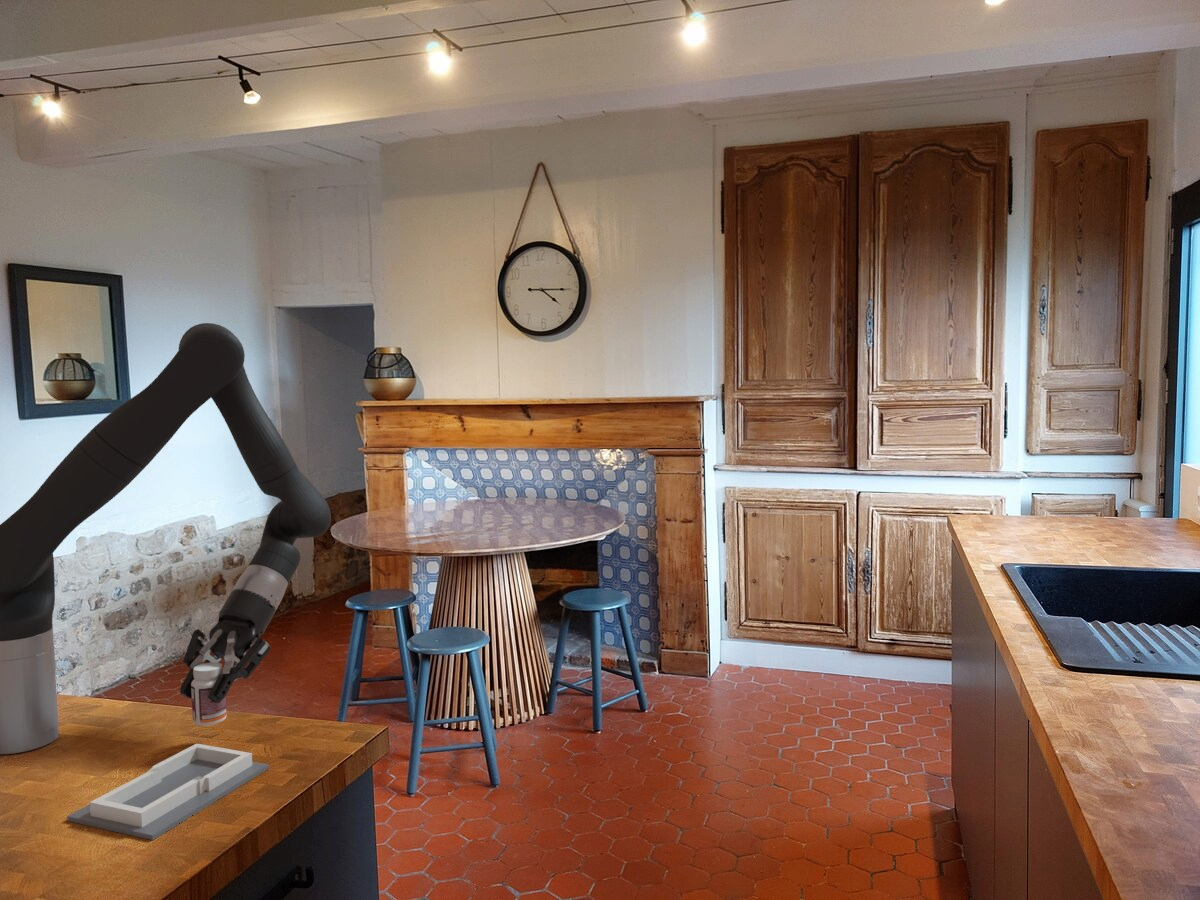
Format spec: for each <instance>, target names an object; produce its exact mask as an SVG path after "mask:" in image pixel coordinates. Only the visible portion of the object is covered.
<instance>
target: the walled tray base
mask: <svg viewBox="0 0 1200 900" xmlns="http://www.w3.org/2000/svg"><path fill="white" fill-rule="evenodd" d="M269 766H270V764H267V763H264V762H257V761H253V753H252V752H247V751H242V750H235V749H232V748H231V749H230V748H224V747H218V746H212V745H208V744H203V743H201V744H200V743H195V744H193V745H191V746H189V747H187V748H185V749H183V750H182V751H179V752H178V753H176V754H174V755H172V756H170V757H167V758H166V759H164V760H162V761H160V762H157V763H155V765H153V766H151V767H150V769H149V770H147V772H145V773H143V774H141V775H139V776H137V777H136V778H134V779H131V780H130V781H128V782H126V783H124V784H122V785H120V786H118V787H116V788H114V789H112V790H110V791H108V792H107V793H105V794H103V795H101V796H99V797H97V798H96V799H93V800H91V801H89V804H87V805H86V806H84V807H82V808H80V809H78V810H76V811H74V812H73V813H70V814H69V815H66V817H67V821H68V822H71V823H76V824H81V825H84V826H88V827H93V828H98V829H100V830H101V829H102V830H106V831H111V832H115V833H120V834H122V835H123V834H124V835H127V836H133V837H138V838H141V839H146V840H149V841H154V840H156V839H157V838H159V837H160V836H162V835H164V834H165V833H167V832H168V830H169V831H171V830H172V829H173V828H176V827H177V826H178V825H180V824H182V823H183V822H185V821H186V820H188V819H189V817H190V818H192V817H193V816H194V815H196V814H198V813H200V812H201V811H202V810H204V809H206V808H207V807H209V806H211V805H213V804H214V803H215V802H217V801H218V799H219V800H220V799H222V798H224V797H225V796H227V795H228V794H230V793H232V792H234V791H235V790H237V789H238V788H241V786H243V785H244V784H246V783H248V782H249V781H251V780H253V779H254V778H257V777H258V776H259V775H261V774H262V773H265V771H268V770H269V769H270V767H269ZM223 796H224V797H223ZM192 815H193V816H192ZM181 822H182V823H181ZM179 823H180V824H179ZM176 825H177V826H176ZM166 831H167V832H166ZM163 833H164V834H163ZM155 838H156V839H155Z"/></svg>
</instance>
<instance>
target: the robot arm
mask: <svg viewBox="0 0 1200 900" xmlns="http://www.w3.org/2000/svg"><path fill="white" fill-rule="evenodd" d="M244 364H245V349H244V347H243V344H242V343H241V341H240V339H239V338H238V337H237V336H236V335H235V334H234V333H233V332H232V331H231V330H230V329H228V328H226V327H224V326H223V325H220V324H217V323H209V322H202V323H198V324H195V325H193V326H191V327H190V328H188V330H186V331H185V332H184V334H183V335H182V337H181V338H180V340H179V344H178V351H177V352H176V354H175V355H174V356H173V358H172V359H171V360H170V361H169V362H168V364H167V365H166V366H165V368H164V369H162V370H161V371H160V372H159V374H158V375H157V377H155V379H154V380H153V381H152V382H151V383H149V385H147V386H146V387H145V388H143V390H142V391H140V392H139V393H137V394H135V395H134V396H132V397H131V398H130V399H128V400H127V401H125V402H124V403H122V404H121V405H120V406H118V407H116V408H115V409H114V410H113V411H111V412H110V413H109V414H107V416H105V417H103V419H102V420H101V421H99V422H98V423H97V424H96V425H95V426H94V427H93V428H92V429H91V430H90V431H89V432H88V433H87V434H86V435H85V436H84V437H82V439H81V440H80V441H79V442H78V443H77V444H76V445H75V446H74V447H73V449H71V451H70V452H69V453H68V454H67V455H66V456H65V457H64V458H63V460H61V461H60V463H59V464H58V465H57V466H56V467H55V469H54V470H53V471H52V472H51V473H50V474H49V475H48V477H47V478H46V479H45V480H44V482H43V483H42V484H41V485H40V487H39V488H38V489H37V490H36V492H34V494H33V495H32V496H31V497H29V499H28V500H27V501H26V502H25V503H24V504H23V505H22V506H20V507H19V509H18V510H16V511H15V512H14V513H13V514H11V515H10V516H9V517H8V518H6V520H4V521H3V522H1V523H0V755H11V754H18V753H19V754H20V753H24V752H25V753H26V752H29V751H33V750H36V749H39V748H42V747H44V746H47V745H49V744H50V743H53V742H54V741H56V739H58V737H59V736H60V727H59V726H60V725H59V708H58V706H59V705H58V692H57V691H58V690H57V689H58V688H57V678H56V677H57V675H56V673H57V672H56V659H55V658H56V657H55V645H54V644H55V643H54V640H55V639H54V627H53V626H54V625H53V615H54V610H55V605H56V604H55V602H56V593H55V592H56V590H55V587H56V585H55V582H56V581H55V560H54V553H55V552H56V550H57V549H58V547H59V546H61V544H62V543H64V541H65V539H66V538H68V536H69V535H70V534H71V533H72V532H73V531H74V530H75V529H76V528H77V527H79V526H80V525H81V524H83V522H84V521H86V520H87V519H89V518H90V517H92V515H93V514H95V513H97V512H98V511H99V510H101V508H102V507H104V506H105V505H106V504H109V502H111V501H112V500H113V499H114V498H115V497H116V496H118V495H119V494H120V493H121V492H122V491H123V490H124V489H125V488H127V486H129V485H130V484H131V482H133V480H134V479H135V478H137V476H139V474H140V473H141V472H142V471H143V470H144V469H145V468H147V466H148V465H150V463H152V461H153V459H154V458H155V457H157V455H158V454H159V453H160V452H161V450H162V449H163V448H164V447H165V446H166V445H167V444H168V443H169V442H170V440H171V439H173V437H174V435H175V434H176V433H177V432H178V431H179V429H180V428H181V427H182V425H183V424H185V422H186V421H187V420H188V419H189V418H190V417H191V415H193V414H194V413H195V412H196V411H197V410H198V409H199V408H201V407H202V406H203V405H204V404H205V403H207V402H208V400H210V399H211V400H212V401H213V402H214V405H216V407H217V409H218V411H219V412H220V414H221V416H222V418H223V420H224V422H225V423H226V426H227V427H228V429H229V431H230V433H231V436H232V438H233V440H234V443H235V445H236V447H237V449H238V451H239V453H240V455H241V458H242V459H243V461H244V464H245V465H246V466H247V469H248V471H249V472H250V474H251V476H252V477H253V479H254V480H255V481H254V482H256V484H257V486H258V488H259V490H260V491H261V492H262V493H263V494H264V495H266V496H270V497H274V498H277V499H279V500H280V501H278V503H277V504H276V505H274V506H273V507H272V509H271V510H270V511H269V513H268V515H267V518H266V521H265V525H264V527H263V531H262V535H261V539H260V544H259V547H258V549H257V550H256V551H255V552H256V553H255V554H254V556H253V557H252V559H251V560H250V563H249V564H248V566H247V567H246V569H244V571H243V573H242V574H241V575H240V577H239V578H238V580H237V581H236V583H235V585H234V587H233V588H232V590H231V591H230V593H229V595H228V596H227V598H226V600H225V602H224V604H223V605H222V607H221V608H220V610H219V612H218V619H217V622H216V624H215V625H214V626H213V627H212V628H211V629H210V630H209V631H201V630H200V629H199V628H197V629H195V630H194V631H193V632H192V635H191V638H190V640H189V643H188V646H187V649H186V651H185V655H184V658H183V661H182V662H183V664H184V665H186V666H187V667H188V668H189V672H188V674H187V675H186V677H185V678H184V680H183V682H182V683H181V686H180V688H179V689H180V690H179V692H180V694H181V695H182V696H184V697H185V698H186V699H192V694H191V683H192V681H193V680H194V679H195V678H194V676H193V669H194V667H195V666H197V665H200V664H204V663H213V662H215V663H220V661H221V660H223V659H224V665H223V667H222V668H223V673H222V674H220V675H219V677H218V679H217V680H216V682H215V684H214V686H213V688H212V689H211V691H210V693H209V695H208V698H209V699H210V700H212V701H213V702H215V703H220V702H221V700H223V698H224V697H225V696H226V697H227V694H228V692H229V690H230V688H231V687H232V685H233V683H234V682H236V681H237V680H238V679H241V678H242V679H244V680H245V679H248V678H249V677H250V676H251V675H252V674H253V672H254V671H255V670H256V669H257V667H258V666H259V665H260V664H261V662H262V661H263V659H264V658H265V657H266V656H267V654H268V653H269V652H270V651H271V649H272V646H271V645H270V644H269V643H268V642H267V641H266V640H265V639H263V637H260V636H261V635H263V634H264V633H265V631H266V629H267V628H268V626H269V624H270V622H271V620H272V618H273V616H274V615H275V613H276V611H277V609H278V607H279V606H280V604H281V602H282V600H283V597H284V596H285V593H286V591H287V587H288V585H289V584H290V582H291V580H292V578H293V576H294V575H295V572H296V571H297V568H298V567H299V565H300V562H301V556H302V555H301V552H300V550H299V549H298V548H297V547H296V546H294V543H295V542H296V541H297V539H304V538H305V539H307V538H316V537H320V536H322V535H324V534H325V533H326V532H327V531H328V529H329V528H330V525H331V521H332V515H331V510H330V507H329V504H328V502H327V500H326V499H325V497H324V496H323V495H322V493H321V492H320V491H319V490H318V489H317V488H316V486H315V485H314V484H313V483H312V482H311V481H310V480H309V478H307V477H306V475H304V474H303V472H301V471H300V469H299V468H298V465H297V463H296V461H295V460H294V457H293V456H292V453H291V452H290V450H289V448H288V446H287V444H286V443H285V441H284V439H283V437H282V435H281V434H280V433H279V430H278V429H277V428H276V425H274V423H273V421H272V420H271V418H270V417H269V415H268V414H267V412H266V410H265V409H264V407H263V406H262V404H261V402H260V400H259V399H258V397H257V394H256V393H255V391H254V389H253V387H252V384H251V383H250V380H249V378H248V374H247V373H246V370H245V369H246V368H245V366H244ZM211 653H212V654H213V655H212V654H211Z"/></svg>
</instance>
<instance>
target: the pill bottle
mask: <svg viewBox="0 0 1200 900" xmlns="http://www.w3.org/2000/svg"><path fill="white" fill-rule="evenodd" d="M223 668H224V667H223V663H221V662H218V663H215V662H213V663H205V662H203V663H202V664H200V665H197V666H195V667H194V669H193V676H194V678H195V679H194V680H193V681H192V683H191V694H192V698H191V712H192V713H191V715H192V723H193V724H194V725H197V726H200V727H201V726H202V727H203V726H204V727H205V726H206V727H207V726H213V725H216V724H219V723H222V722H223V721H225V720H226V718H227V713H228V711H227V695H226V696H225V697H224V698H223V700H221V702H220V703H215V702H213V701H212V700H210V699H209V698H208V695H209V693H210V691H211V689H212V688H213V686H214V684H215V682H216V680H217V679H218V677H219V675H220V674H222V675H223V674H224V673H223Z"/></svg>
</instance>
